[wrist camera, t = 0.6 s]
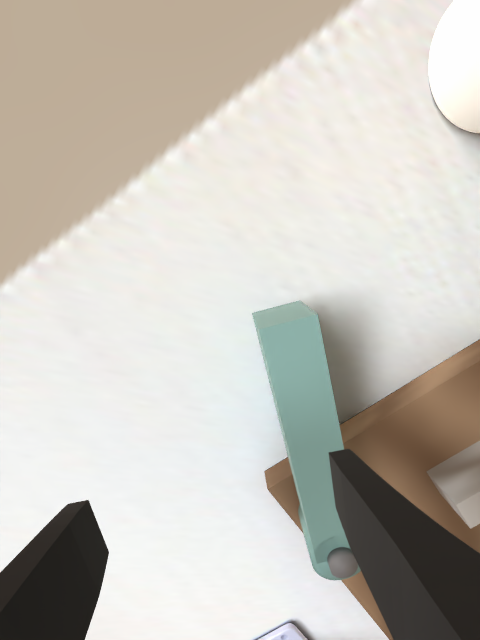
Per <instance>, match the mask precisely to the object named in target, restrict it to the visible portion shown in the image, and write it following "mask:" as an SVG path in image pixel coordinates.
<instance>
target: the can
mask: <svg viewBox="0 0 480 640" xmlns="http://www.w3.org/2000/svg"><path fill="white" fill-rule="evenodd" d="M428 71H429V82H430V87H431V91H432V95H433V97H434V100H435V102H436V104H437V106H438V108H439V109H440V111H441V112H442V113H443V115H444V116H445V117H446V118H447V119H448V120H449V121H450V122H452V123H453V124H454V125H456V126H457V127H459V128H461V129H463V130H466V131H469V132H473V133H480V0H454V1H453V2H452V4H451V5H450V6H449V8H448V9H447V10H446V12H445V13H444V15H443V17H442V19H441V20H440V22H439V24H438V27H437V29H436V31H435V34H434V37H433V40H432V44H431V48H430V54H429V65H428Z"/></svg>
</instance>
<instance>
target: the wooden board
mask: <svg viewBox="0 0 480 640" xmlns="http://www.w3.org/2000/svg"><path fill="white" fill-rule="evenodd" d="M339 426H340V431H341V436H342V441H343V446H344V449H350V450H352V451H353V452H354V453H355V454H356V455H357V456H358V457H359V458H361V459H362V460H363V461H364V462H365V463H366V464H367V465H368V466H369V467H370V468H371V469H373V470H374V471H375V472H376V473H377V474H378V475H379V476H380V477H382V478H383V479H384V480H385V481H386V482H387V483H388V484H390V485H391V486H392V487H393V488H394V489H396V490H397V491H398V492H399V493H400V494H402V495H403V496H404V497H405V498H407V499H408V500H409V501H410V502H411V503H413V504H414V505H415V506H416V507H418V508H419V509H420V510H421V511H423V512H424V513H425V514H427V515H428V516H429V517H430V518H432V519H433V520H434V521H436V522H437V523H438V524H440V525H441V526H442V527H444V528H445V529H446V530H448V531H449V532H450V533H452V534H453V535H455V536H456V537H457V538H459V539H460V540H462V541H463V542H464V543H466V544H467V545H469V546H470V547H472V548H473V549H474V550H476V551H477V552H479V553H480V340H478V341H476V342H475V343H473V344H471V345H470V346H468V347H467V348H465V349H463V350H462V351H460V352H458V353H457V354H455V355H454V356H452V357H450V358H449V359H447V360H445V361H444V362H442V363H440V364H439V365H437V366H436V367H434V368H432V369H431V370H429V371H427V372H426V373H424V374H423V375H421V376H419V377H418V378H416V379H414V380H413V381H411V382H410V383H408V384H406V385H405V386H403V387H401V388H400V389H398V390H396V391H395V392H393V393H392V394H390V395H388V396H387V397H385V398H383V399H382V400H380V401H379V402H377V403H375V404H374V405H372V406H370V407H369V408H367V409H366V410H364V411H362V412H361V413H359V414H357V415H356V416H354V417H352V418H351V419H349V420H348V421H346V422H344V423H343V424H341V425H339ZM264 472H265V477H266V483H267V488H268V490H269V492H270V493H271V494H272V495H273V497H274V498H275V499H276V500H277V501H278V503H279V504H280V505H281V506H282V508H283V509H284V510H285V511H286V513H287V514H288V515H289V516H290V517H291V519H292V520H293V521H294V522H295V524H296V525H297V526H298V527H299V529H300V530H301V531H302V532H303V530H302V526H301V522H300V519H299V515H298V508H299V505H300V502H299V498H298V494H297V490H296V486H295V482H294V478H293V474H292V470H291V466H290V462H289V458H288V457H287V458H286V459H284V460H282V461H281V462H279V463H277V464H276V465H274V466H273V467H271V468H269V469H268V470H266V471H264ZM303 534H304V533H303ZM342 582H343V583H344V584H345V585H346V587H347V588H348V589H349V590H350V592H351V593H352V594H353V595H354V596H355V598H356V599H357V600H358V601H359V603H360V604H361V605H362V606H363V608H364V609H365V610H366V611H367V612H368V614H369V615H370V616H371V617H372V619H373V620H374V621H375V622H376V624H377V625H378V626H379V627H380V629H381V630H382V631H383V632H384V633H385V635H386V636H387V637H388V638H389V640H393V638H392V636H391V633H390V631H389V629H388V627H387V625H386V623H385V621H384V619H383V616H382V614H381V612H380V610H379V608H378V606H377V604H376V602H375V599H374V597H373V595H372V593H371V591H370V589H369V587H368V585H367V583H366V580H365V578H364V576H363V574H362V572H361V571H360V572H359V573H357V574H356V575H354V576H352V577H350V578H347V579H343V580H342Z"/></svg>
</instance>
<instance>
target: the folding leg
mask: <svg viewBox="0 0 480 640" xmlns="http://www.w3.org/2000/svg"><path fill="white" fill-rule="evenodd" d="M252 315H253V319H254V323H255V327H256V331H257V335H258V339H259V343H260V347H261V351H262V355H263V359H264V363H265V367H266V371H267V375H268V379H269V383H270V387H271V391H272V395H273V399H274V403H275V407H276V411H277V414H278V418H279V422H280V426H281V430H282V434H283V438H284V442H285V446H286V450H287V454H288V458H289V462H290V466H291V470H292V474H293V478H294V482H295V486H296V490H297V494H298V498H299V502H300V505H299V508H298V515H299V519H300V522H301V526H302V530H303V533H304V537H305V540H306V544H307V548H308V551H309V555H310V558H311V562H312V566H313V568H314V570H315V571H316V573H318V574H319V575H320V576H322V577H324V578H326V579H330V580H343V579H347V578H350V577H352V576H354V575H356V574H357V573H359V572H360V571H361V570H360V568H359V565H358V563H357V561H356V559H355V557H354V555H353V552H352V550H351V548H350V546H349V543H348V541H347V538H346V535H345V532H344V530H343V527H342V524H341V521H340V519H339V516H338V513H337V510H336V507H335V499H334V491H333V484H332V476H331V468H330V460H329V452H334V451H339V450H344V446H343V441H342V436H341V431H340V426H339V421H338V415H337V410H336V405H335V400H334V395H333V390H332V385H331V380H330V374H329V369H328V364H327V359H326V354H325V349H324V344H323V339H322V333H321V328H320V323H319V318H318V314H317V313H316V312H314V311H313V310H312V309H310V308H309V307H308V306H307V305H305V304H304V303H303V302H301V301H297V302H293V303H289V304H285V305H281V306H277V307H274V308H270V309H266V310H262V311H258V312H254V313H252Z"/></svg>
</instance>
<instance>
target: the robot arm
mask: <svg viewBox="0 0 480 640" xmlns="http://www.w3.org/2000/svg"><path fill="white" fill-rule="evenodd" d="M329 460H330V468H331V476H332V484H333V491H334V499H335V507H336V510H337V513H338V516H339V519H340V521H341V524H342V527H343V530H344V532H345V535H346V538H347V541H348V543H349V546H350V548H351V550H352V552H353V555H354V557H355V559H356V561H357V563H358V565H359V568H360V570H361V572H362V574H363V576H364V578H365V580H366V583H367V585H368V587H369V589H370V591H371V593H372V595H373V597H374V599H375V602H376V604H377V606H378V608H379V610H380V612H381V614H382V616H383V619H384V621H385V623H386V625H387V627H388V629H389V631H390V633H391V636H392V638H393V640H480V553H479V552H477V551H476V550H474V549H473V548H472V547H470V546H469V545H467V544H466V543H464V542H463V541H462V540H460V539H459V538H457V537H456V536H455V535H453V534H452V533H450V532H449V531H448V530H446V529H445V528H444V527H442V526H441V525H440V524H438V523H437V522H436V521H434V520H433V519H432V518H430V517H429V516H428V515H427V514H425V513H424V512H423V511H421V510H420V509H419V508H418V507H416V506H415V505H414V504H413V503H411V502H410V501H409V500H408V499H407V498H405V497H404V496H403V495H402V494H400V493H399V492H398V491H397V490H396V489H394V488H393V487H392V486H391V485H390V484H388V483H387V482H386V481H385V480H384V479H383V478H382V477H380V476H379V475H378V474H377V473H376V472H375V471H374V470H373V469H371V468H370V467H369V466H368V465H367V464H366V463H365V462H364V461H363V460H362V459H361V458H359V457H358V456H357V455H356V454H355V453H354V452H353V451H352V450H350V449H344V450H339V451H334V452H329ZM108 554H109V551H108V549H107V546H106V544H105V541H104V539H103V536H102V534H101V531H100V528H99V526H98V523H97V521H96V518H95V516H94V513H93V511H92V508H91V506H90V503H89V501H88V500H86V501H81V502H76V503H71V504H68V505H66V506H65V507H64V508H63V509H62V510H61V511H60V512H59V513H58V514H57V515H56V516H55V517H54V518H53V519H52V520H51V521H50V522H49V523H48V524H47V525H46V526H45V527H44V528H43V529H42V530H41V531H40V532H39V533H38V534H37V535H36V537H35V538H34V539H33V540H32V541H31V542H30V543H29V544H28V545H27V546H26V547H25V548H24V549H23V550H22V551H21V552H20V553H19V554H18V555H17V556H16V557H15V558H14V559H13V560H12V561H11V562H10V563H9V564H8V565H7V566H6V567H5V568H4V569H3V570H2V572H1V573H0V640H85V637H86V634H87V631H88V628H89V625H90V622H91V619H92V616H93V613H94V610H95V607H96V604H97V601H98V598H99V594H100V590H101V586H102V582H103V578H104V573H105V569H106V564H107V559H108ZM258 640H308V639H307V638H306V637H305V636H304V635H303V634H302V633H301V632H300V631H299V630H298V629H297V627H296V626H295V625H293V624H291V623H287V624H285V625H283V626H281V627H280V628H278V629H276V630H274V631H272V632H271V633H269V634H267V635H265V636H263V637H261V638H260V639H258Z"/></svg>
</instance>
